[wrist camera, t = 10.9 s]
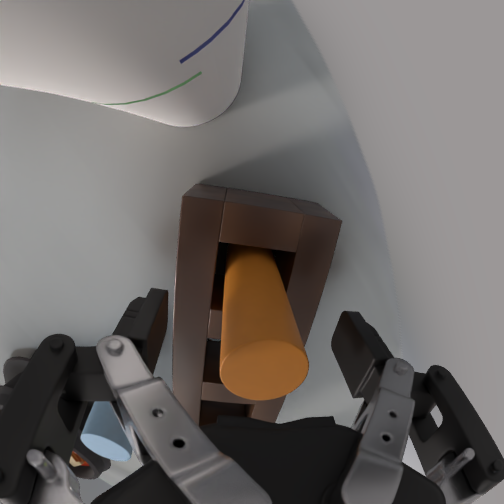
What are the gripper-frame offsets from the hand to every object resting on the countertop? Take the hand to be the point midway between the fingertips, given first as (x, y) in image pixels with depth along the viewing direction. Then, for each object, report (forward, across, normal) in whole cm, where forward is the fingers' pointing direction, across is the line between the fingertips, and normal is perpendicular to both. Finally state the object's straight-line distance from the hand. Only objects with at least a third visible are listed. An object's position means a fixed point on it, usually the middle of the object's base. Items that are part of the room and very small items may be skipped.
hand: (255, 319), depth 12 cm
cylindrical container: (+9, +6, -12) cm, 16 cm away
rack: (+9, 0, +6) cm, 11 cm away
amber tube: (+9, 0, 0) cm, 9 cm away
